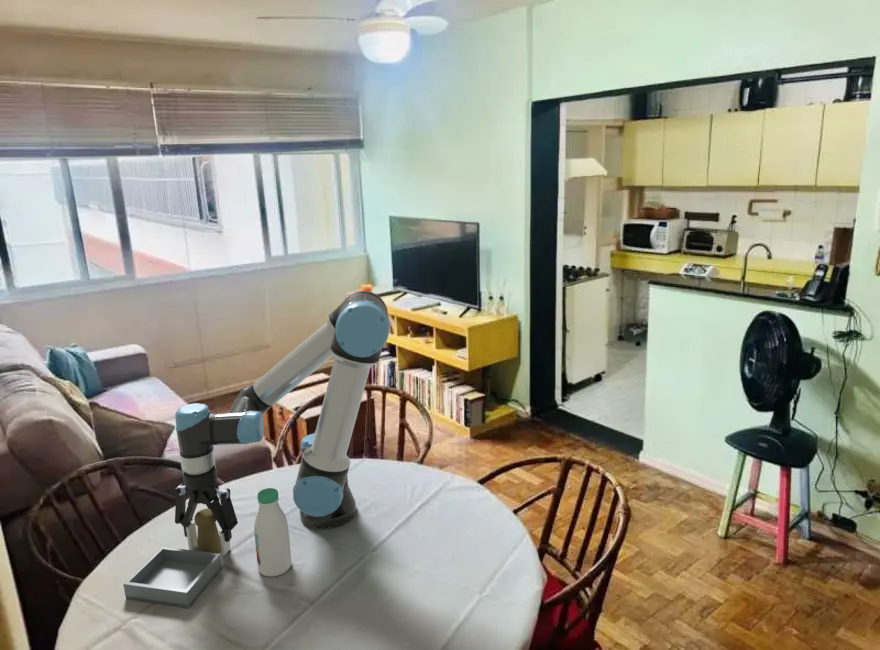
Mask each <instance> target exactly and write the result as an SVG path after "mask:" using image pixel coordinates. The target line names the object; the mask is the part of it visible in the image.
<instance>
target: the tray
mask: <svg viewBox="0 0 880 650" xmlns="http://www.w3.org/2000/svg"><path fill="white" fill-rule="evenodd" d="M222 570H223V560H222V553H219V554H218V553H210V552H202V551H197V550H195V549H193V550H189V549H186V548H177V547H168V546H161V547H160V548H159V549H158V550H157V551H156V552H155V553H154V554H153V555H152V556H151V557H149V559H148V560H146V561H145V562H144V564H142V565H141V566H140V567H139V568H138V569H136V571H135V572H134V573H133V574H132V575H130V577H129V578H128V579H126V581H124V583H123V590H124V591H123V592H124V595H125V600H128V601H135V602H136V601H137V602H143V603H149V604H150V603H151V604H156V605H157V604H158V605H164V606H169V607H170V606H171V607H176V608H183V609H185V608H186V609H190V608H191V607H192V606H193V605H194V603H195V602H196V601H197V600H198V598H200V596H201V595H202V593H204V591H205V590H206V589H207V588H208V586H210V584H211V582H213V581H214V579H216V577H217V576H218V574H219V573H220V572H221V571H222Z"/></svg>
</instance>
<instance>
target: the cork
mask: <svg viewBox="0 0 880 650" xmlns="http://www.w3.org/2000/svg"><path fill="white" fill-rule="evenodd" d="M193 520H194V522H195V525H196V526H197V546H196V551H202V552H210V553H218V554H222V550H221V542H220V534H219V530H218V527H217V526H218V525H217V520H216V518H215V517H214V515H213V513H212V511H211V510H210V509H208V507H206V508H203V509H200V510H198V511H197V512H196V514H195V515H194V518H193Z"/></svg>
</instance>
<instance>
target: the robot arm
mask: <svg viewBox="0 0 880 650" xmlns="http://www.w3.org/2000/svg"><path fill="white" fill-rule="evenodd" d="M326 320H327V321H326V322H325V323H324V324H322V326H321V327H319V328H318V329H317V330H316V331H314V332H313V333H312V334H311V335H310V336H309V337H307V338H306V339H305V340H304V341H303V342H301V343H300V344H299V345H298V346H297V347H296V348H294V349H293V350H292V351H291V352H289V353H288V354H287V355H286V356H285V357H284V358H282V359H281V360H280V361H279V362H278V363H276V364H275V365H274V366H273V367H271V368H270V369H269V370H268V371H267V372H266V373H264V374H263V375H262V376H261V377H260V378H258V379H257V380H256V381H255V382H254V383H252V384H251V385H250V386H248V387H246V388H244V389H242V390H241V391H240V392H239V393H238V394H237V396H236V397H235V399H234V402H233V403H232V406H231V407H230V408H229V410H228V412H211V410H210V408H209V406H208V405H207V404H205V403H200V402H199V403H197V402H196V403H195V402H194V403H190V404H186V405H183V406H180V407H179V408H178V409H177V410H176V411H175V418H174V419H175V431H176V436H177V442H178V450H179V458H180V459H179V460H180V466H181V467H180V468H181V470H182V478H183V483H180V484H179V485H178V486H177V487H175V488H174V490H173V492H174V495H175V509H174V510H175V511H174V512H175V513H174V523H175V524H176V525H179V524H180V525H181V526H182V528H183V534H184V537H185V538H187V545H188V550H195V548H197V537H198V532H197V527H196V526H197V525H196V524H195V521H193V520H194V518H193V517H194V516H195V515H194V514H195V512H196V509H197V506H198V505H200V504H202V505H205V506H206V508H208V509H210V510H211V511H212V513H213V515H214V517H215V518H216V523H217V524H218V525H219V527H220V530H218V533H219V536H220V542H221V550H222V551H221V556H222V555H223V556H226V555H227V553H229V551H230V550H231V540H232V537H233V533H232V530H233V529H234V528H235V527H236V526H237V525H238V524H239V521H238V519H237V518H238V517H237V515H236V512H235V509H234V506H233V503H232V502H233V501H232V499H231V489H230V488H226V489H222V488H220V487H219V485H218V473H217V471H218V470H217V466H216V459H215V457H216V456H215V448H214V446H223V445H224V446H225V445H248V444H254V443H259V442H261V441H262V440H263V438H264V436H265V435H264V433H265V417H264V414H265V413H266V412H268V411H269V410H270V409H271V408H272V407H273V406H274V405H275V404H277V403H278V402H279V401H280V400H282V398H284V397H285V396H287V394H288V393H290V392H291V391H293V390H294V389H295V388H296V387H297V386H298V385H300V383H302V382H304V381H305V379H307V378H308V377H309V376H311V375H312V374H313V373H315V371H317V370H318V369H319V368H321V366H323V365H324V364H325V363H326V362H328V361H329V360H330V359H331V358H332V357H333V358H334V360H333V363H332V367H331V371H330V375H329V379H328V382H327V387H326V389H325V393H324V398H323V402H322V406H321V410H320V412H319V417H318V420H317V424H316V428H315V432H314V433H311V434H307V435H306V436H304V437H303V438H302V439H301V441H300V447H299V448H300V449H301V459H300V460H301V462H300V464H299V468H298V473H297V476H296V481H295V484H294V486H293V488H292V498H293V501H294V505H295V506H296V507H297V508H298V510H299V517H300V521H301V522H302V523H303V524H304V525H306V526H307V527H310V528H313V529H320V530H322V529H323V530H324V529H333V528H337V527H340V526H342V524H343V525H344V523H345V524H346V522H347V523H348V522H350V521H351V520H352V519H353V518H354V517H355V516H356V513H357V505H356V500H355V498H354V495H353V493H352V491H351V488H350V486H349V480H348V473H349V470H350V466H351V460H350V457H349V455H348V454H347V453H348V450H349V446H350V442H351V439H352V434H353V431H354V429H355V428H354V427H355V424H356V421H357V417H358V413H359V410H360V406H361V403H362V399H363V396H364V392H365V388H366V385H367V380H368V377H369V375H370V370H371V367H373V366H375V365H377V364H379V362H380V359H381V356H382V355H381V354H382V351H383V347H384V345H386V342H387V341H388V337H389V334H390V321H389V311H388V308H387V304H386V302H385V301H384V299H382V297H380V296H379V295H377V294H376V293H374V292H372V291H369V290H368V291H367V290H361V291H356V292H353V293H351V294H350V295H348V296H347V297H346V298H345V299H344V300H343V301H342V303H340V304H339V306H337V307H336V308H335V309H334V310H333V311H332V312H331V313H330V314H328V315H327V319H326ZM187 495H188V497H189V499H188V502H187ZM186 502H187V503H186ZM186 504H187V508H186ZM353 516H354V517H353ZM350 519H351V520H350ZM349 520H350V521H349ZM339 525H340V526H339ZM336 526H337V527H336Z"/></svg>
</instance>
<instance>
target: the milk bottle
mask: <svg viewBox="0 0 880 650" xmlns="http://www.w3.org/2000/svg"><path fill="white" fill-rule="evenodd" d="M279 500H280V499H279V491H278V490H277V489H276V488H273V487H269V488H263V489H262V490H261V489H260V491H259V492H257V503H258V505H259V507H258V511H257V514H256V516H255V520H254V525H253V526H254V527H253V528H254V529H253V531H254V541H255V543H254V544H255V553H256V560H257V561H256V562H257V569H258V571H259V573H260V575H262V576H264V577H269V578H272V577H278V576H280V575H281V576H282V575H283V574H285V573H287V572H288V570H289V569H291V566H292V554H291V552H292V551H291V543H290V542H291V541H290V532H289V524H288V520H287V516H286V513H284V511H283V509H282V508H281V506H280V504H279Z"/></svg>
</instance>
